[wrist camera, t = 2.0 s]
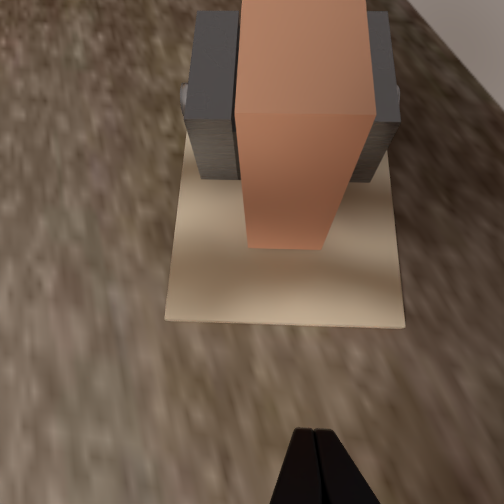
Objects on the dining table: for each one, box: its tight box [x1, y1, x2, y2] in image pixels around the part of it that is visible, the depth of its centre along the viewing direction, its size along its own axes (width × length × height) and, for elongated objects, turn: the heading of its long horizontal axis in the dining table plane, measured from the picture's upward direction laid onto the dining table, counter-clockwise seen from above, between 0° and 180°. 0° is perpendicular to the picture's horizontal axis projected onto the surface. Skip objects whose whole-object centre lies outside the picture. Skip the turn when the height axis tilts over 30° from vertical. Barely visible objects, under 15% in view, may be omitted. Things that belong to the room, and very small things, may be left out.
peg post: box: [235, 0, 376, 250], centre depth 19 cm, size 6×4×12 cm
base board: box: [164, 132, 405, 329], centre depth 26 cm, size 19×14×1 cm
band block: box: [180, 11, 401, 183], centre depth 24 cm, size 8×13×6 cm, turn 88°
